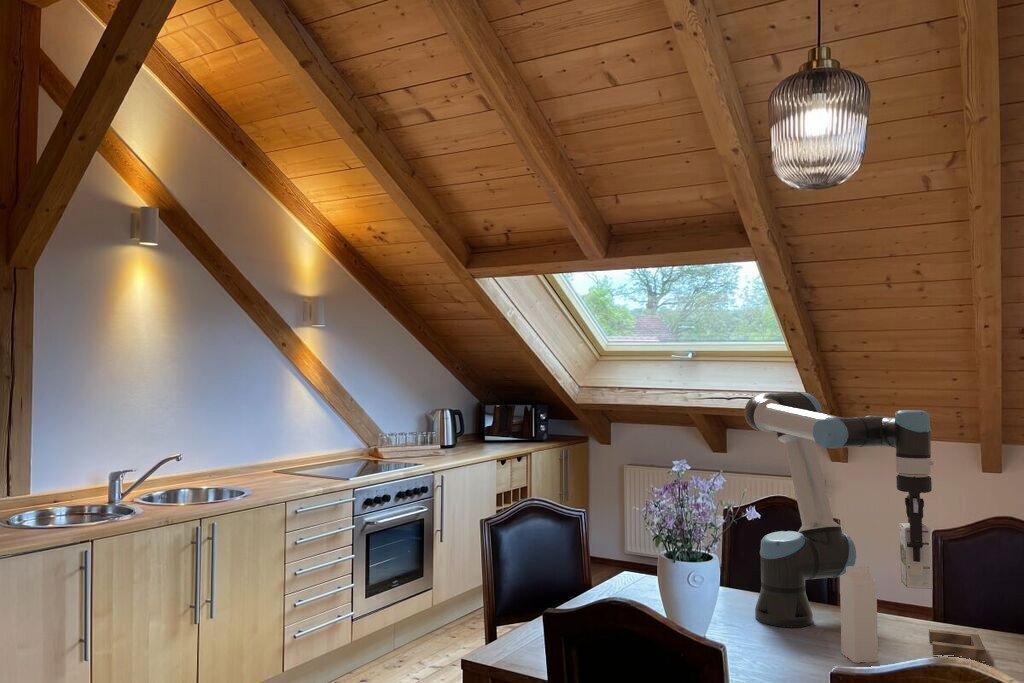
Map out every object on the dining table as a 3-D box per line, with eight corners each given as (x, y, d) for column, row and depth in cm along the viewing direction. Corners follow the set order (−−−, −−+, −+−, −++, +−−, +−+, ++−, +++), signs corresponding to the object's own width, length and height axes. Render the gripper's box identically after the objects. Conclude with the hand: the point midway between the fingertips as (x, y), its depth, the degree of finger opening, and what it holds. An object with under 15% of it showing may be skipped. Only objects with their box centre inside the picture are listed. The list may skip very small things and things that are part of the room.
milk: (878, 662, 186) (877, 568, 187) (854, 663, 186) (853, 569, 186) (863, 652, 193) (862, 562, 193) (840, 653, 192) (839, 563, 192)
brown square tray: (933, 656, 190) (933, 644, 190) (929, 641, 200) (928, 629, 200) (986, 663, 185) (985, 650, 185) (979, 646, 196) (978, 634, 196)
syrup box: (933, 589, 185) (931, 527, 185) (906, 588, 186) (904, 526, 187) (926, 583, 191) (924, 522, 191) (899, 581, 192) (898, 522, 192)
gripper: (934, 481, 179) (936, 583, 178) (928, 470, 197) (930, 563, 196) (897, 479, 182) (899, 579, 181) (895, 468, 200) (897, 560, 199)
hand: (915, 570), depth 189 cm, fingers closed on syrup box, 6 cm apart
